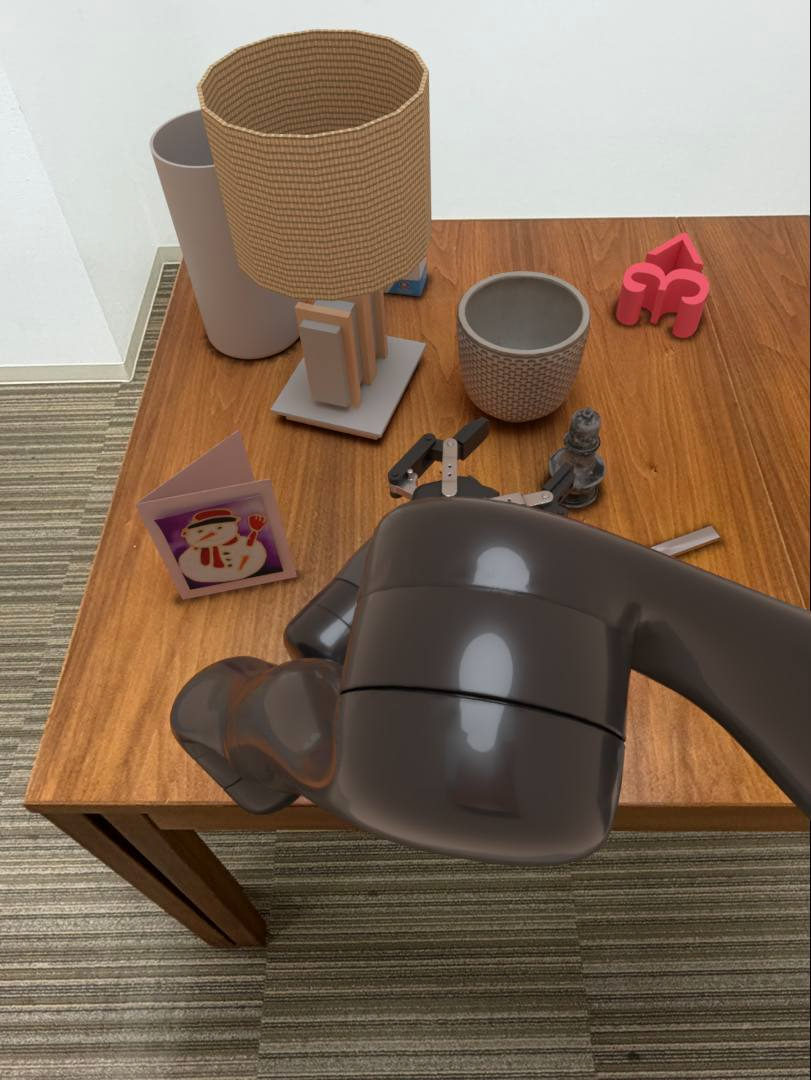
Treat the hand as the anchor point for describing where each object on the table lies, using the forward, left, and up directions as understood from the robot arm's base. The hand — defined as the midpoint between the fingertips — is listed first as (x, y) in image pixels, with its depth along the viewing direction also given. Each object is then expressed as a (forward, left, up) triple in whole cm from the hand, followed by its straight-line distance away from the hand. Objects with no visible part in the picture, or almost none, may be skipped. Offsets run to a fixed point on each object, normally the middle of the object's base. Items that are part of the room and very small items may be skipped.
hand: (526, 447), depth 67 cm
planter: (+9, -20, -16) cm, 27 cm away
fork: (-10, -4, -16) cm, 19 cm away
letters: (0, -46, -16) cm, 49 cm away
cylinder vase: (+44, -17, -16) cm, 50 cm away
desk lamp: (+27, -13, -16) cm, 34 cm away
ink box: (+33, -33, -16) cm, 49 cm away
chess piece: (-2, -11, -16) cm, 19 cm away
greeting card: (+24, +14, -16) cm, 32 cm away
